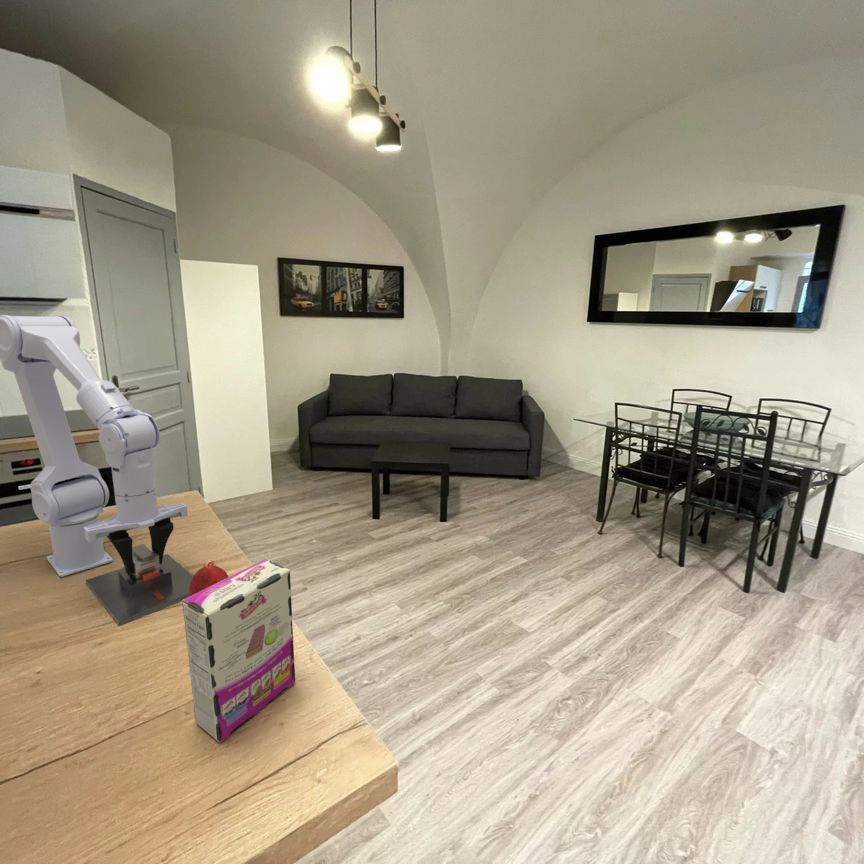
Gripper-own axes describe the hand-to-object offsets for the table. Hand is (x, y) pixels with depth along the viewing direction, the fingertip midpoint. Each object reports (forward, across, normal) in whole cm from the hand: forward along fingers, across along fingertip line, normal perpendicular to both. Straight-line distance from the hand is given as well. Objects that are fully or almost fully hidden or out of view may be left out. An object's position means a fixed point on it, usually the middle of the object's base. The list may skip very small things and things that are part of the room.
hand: (144, 566), depth 80 cm
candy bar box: (+4, -1, -35) cm, 35 cm away
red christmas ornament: (+4, +5, -13) cm, 15 cm away
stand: (+4, 0, 0) cm, 4 cm away
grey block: (+4, 0, 0) cm, 4 cm away
